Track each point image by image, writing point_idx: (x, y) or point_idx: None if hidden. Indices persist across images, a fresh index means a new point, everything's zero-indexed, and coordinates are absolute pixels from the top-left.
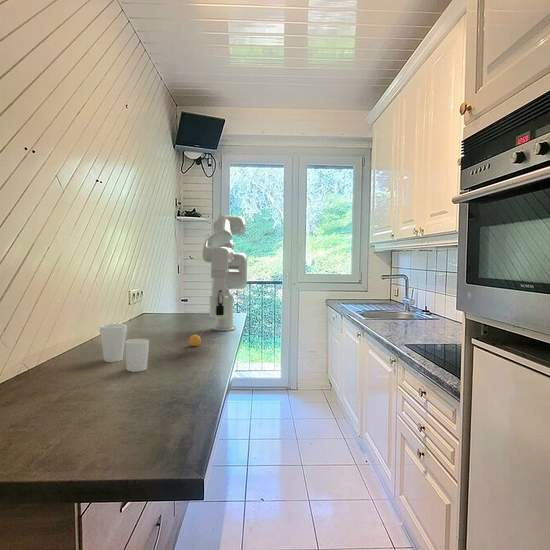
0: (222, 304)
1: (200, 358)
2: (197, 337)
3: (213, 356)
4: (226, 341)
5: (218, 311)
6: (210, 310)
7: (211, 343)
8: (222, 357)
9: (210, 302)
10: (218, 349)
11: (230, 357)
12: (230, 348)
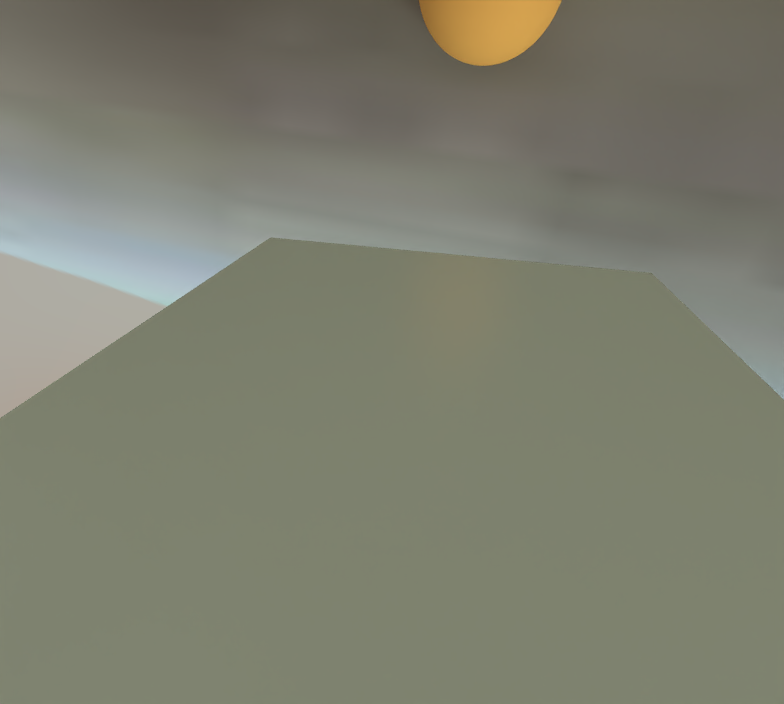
0: None
1: (11, 21)
2: (436, 3)
3: (90, 149)
4: None
5: None
6: (290, 296)
7: (559, 204)
8: (74, 213)
9: (235, 457)
10: (310, 228)
11: (83, 267)
12: None
